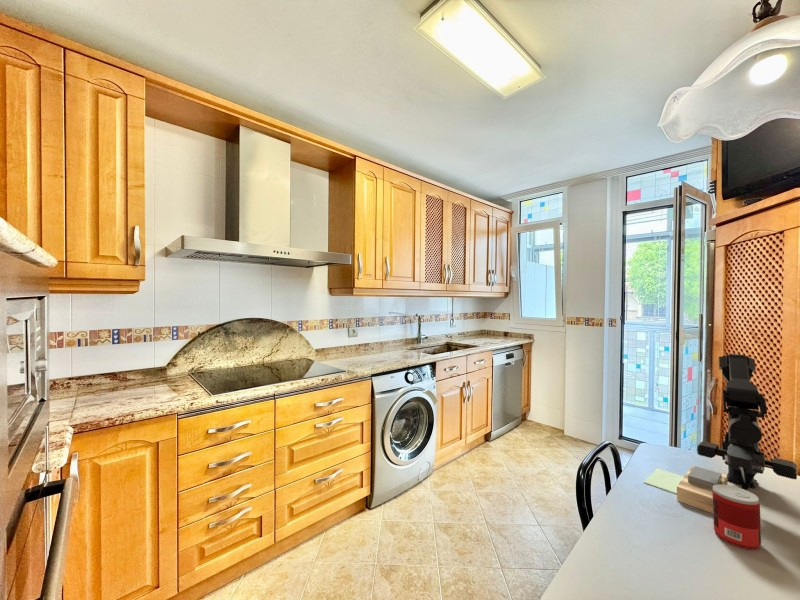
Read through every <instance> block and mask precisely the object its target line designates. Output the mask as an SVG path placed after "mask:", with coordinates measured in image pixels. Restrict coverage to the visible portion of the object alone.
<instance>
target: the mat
mask: <svg viewBox="0 0 800 600" xmlns="http://www.w3.org/2000/svg"><path fill="white" fill-rule="evenodd" d="M684 476H685V475H684ZM684 476H683V475H679V474H677V473H674V472H670V471H667V470H664V469H661V468H656V469H655V470H654V471H652V473H651V474H650V475H649V476H648V477H647V478H646V479H645V480H644V482H643V484H646V485H650V486H652V487H655V488H658V489H660V490H664V491H667V492H669V493H672V494H674V495H677V485H678V484H679V483H680V481H681V480H682V479H683V478H684Z"/></svg>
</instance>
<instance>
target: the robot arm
mask: <svg viewBox="0 0 800 600" xmlns="http://www.w3.org/2000/svg"><path fill="white" fill-rule="evenodd" d="M718 369H719V370H720V371H721V376H722V377H723V378H724V380H725V381H726V382H725V388H723V389H722V403H723V404H722V406H723V413H726V414H727V421H728V424H727V425H728V431H727V432H726V434H725V435H724V440H721V448H719V444H717V443H715V442H714V443H713V442H710V441H709V442H708V441H705V440H702V441H701V442H699V443H698V444H697V447H696V448H697V449H696V452H697V455H699V456H701V457H706V458H710V459H712V458H715V457H716V456H719V457H720V456H721V457H722V458H721V459H722V461H724V464H725V465H726V466H727V468H728V469H727V471H728V472H727V474H726V475H727V482H732V483H734V484H738V485H740V486H741V489H744V490H746V491H748V490H749V488H752V489H756V486H757V484H758V480H757V479H756V478H755V476H756V475H757V474H760V475H761V474H764V471H765V468H768V469H772V471H773V473H775V474H776V475H777V476H779V477H783V478H787V479H789V480H790V479H791V480H797V479H798V465H797V463H795V461H791V460H787V459H783V458H778V457H774V458H773V460H769V459H766V456H765V455H766V454H765V452H762V450H761V448H760V446H759V442H760V441H762V437H763V433H762V431H761V428H760V426H759V419H758V418H760V419H765V415H768V407H767V401H766V398H765V397H764V395H763V394H762V393H759V389H758V386H757V385H756V384H755V383H754V382H752V381H751V379H752V378H753V373H756V370H757V368H756V359H754V358H753V357H749V355H746V354H739V353H728V354H726V355H721V356H718Z"/></svg>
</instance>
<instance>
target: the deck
mask: <svg viewBox="0 0 800 600" xmlns="http://www.w3.org/2000/svg"><path fill="white" fill-rule="evenodd" d="M694 466H696V465H691V467H690V468H689V469H688V470H687V472H686V474H685V475H684V478H683V479H682V480H681V481H680V483H679V484H678V485H677V494H676V501H677V502H680V503H682V504H686V505H687V506H688V505H689V506H692V507H695V508H697V509H699V510H700V509H701V510H703V511H706V512H708V513H712V514H713V490H712V489H708V488H705V487H702V486H699V485H696V484H692V483H689V482H688V474H689V473H690V472H691V470H692V469H693V468H694ZM696 467H698V466H696ZM720 473H721V474H722V481H721V483H720V484H722V485H728V481H727V474H725V473H722V472H720Z"/></svg>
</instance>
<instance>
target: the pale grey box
mask: <svg viewBox="0 0 800 600" xmlns="http://www.w3.org/2000/svg"><path fill="white" fill-rule="evenodd" d="M693 466H694V468H693V469H692V470H691V472H690V473H689V474H688V482H689V483H692V484H696V485H699V486H702V487H705V488H708V489H712V490H713V486H714V485H718V484H720V483H721V481H722V474H723V473H722V472H718V471H713V470H710V469H708V468H703V467H700V466H697V467H696V465H693ZM721 473H722V474H721Z"/></svg>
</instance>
